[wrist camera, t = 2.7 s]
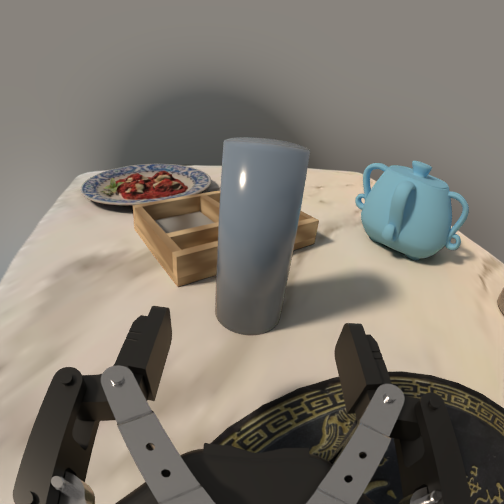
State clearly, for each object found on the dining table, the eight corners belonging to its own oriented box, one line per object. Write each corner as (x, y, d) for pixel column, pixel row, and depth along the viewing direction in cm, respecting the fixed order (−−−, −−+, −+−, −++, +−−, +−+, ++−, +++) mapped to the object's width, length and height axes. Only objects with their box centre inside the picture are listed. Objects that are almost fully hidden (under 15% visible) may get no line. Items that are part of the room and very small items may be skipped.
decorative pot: (458, 275, 37) (489, 192, 30) (367, 261, 38) (394, 162, 31) (422, 229, 51) (441, 164, 44) (347, 215, 52) (363, 142, 45)
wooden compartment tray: (249, 205, 50) (251, 186, 49) (314, 243, 40) (318, 220, 39) (134, 228, 39) (132, 205, 37) (177, 286, 29) (176, 257, 27)
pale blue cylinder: (254, 285, 31) (271, 137, 23) (293, 318, 27) (327, 153, 19) (203, 303, 27) (208, 138, 20) (239, 344, 23) (260, 154, 16)
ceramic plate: (203, 171, 68) (204, 159, 67) (220, 213, 47) (221, 196, 46) (98, 175, 62) (97, 163, 60) (64, 220, 40) (61, 203, 39)
